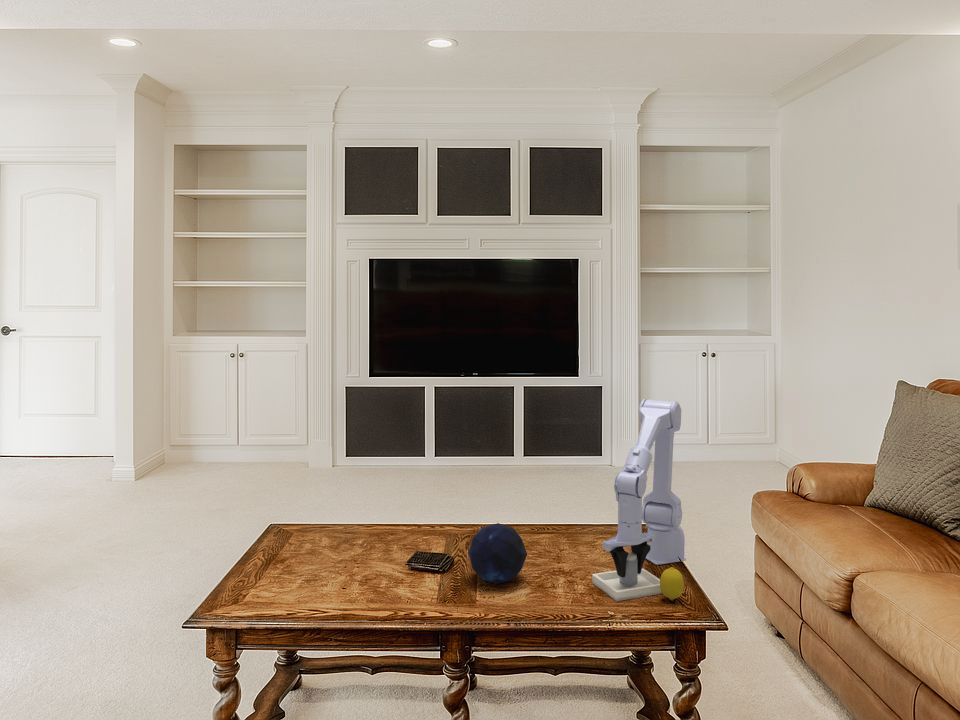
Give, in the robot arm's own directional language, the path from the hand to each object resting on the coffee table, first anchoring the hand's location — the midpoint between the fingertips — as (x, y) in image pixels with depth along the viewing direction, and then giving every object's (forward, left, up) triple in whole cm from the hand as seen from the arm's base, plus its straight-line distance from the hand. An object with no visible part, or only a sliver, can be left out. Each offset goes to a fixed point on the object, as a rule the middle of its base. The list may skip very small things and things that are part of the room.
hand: (629, 574), depth 183 cm
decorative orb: (+29, -16, -4) cm, 33 cm away
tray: (0, 0, -3) cm, 3 cm away
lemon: (-5, +10, -4) cm, 12 cm away
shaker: (0, 0, -2) cm, 2 cm away
